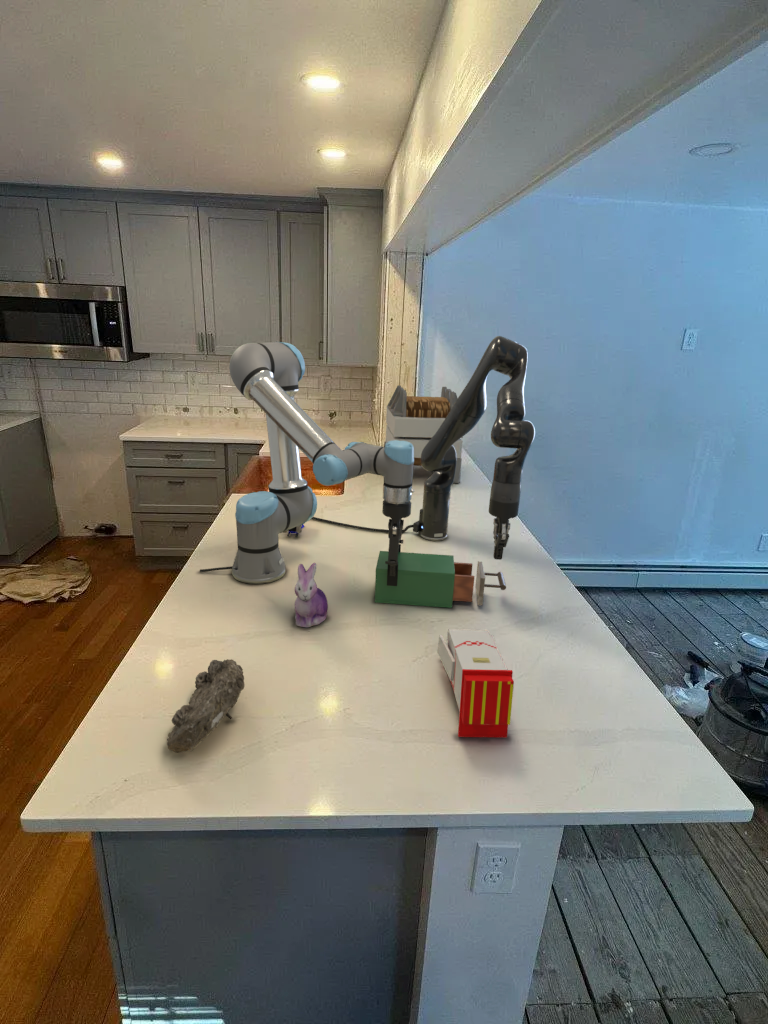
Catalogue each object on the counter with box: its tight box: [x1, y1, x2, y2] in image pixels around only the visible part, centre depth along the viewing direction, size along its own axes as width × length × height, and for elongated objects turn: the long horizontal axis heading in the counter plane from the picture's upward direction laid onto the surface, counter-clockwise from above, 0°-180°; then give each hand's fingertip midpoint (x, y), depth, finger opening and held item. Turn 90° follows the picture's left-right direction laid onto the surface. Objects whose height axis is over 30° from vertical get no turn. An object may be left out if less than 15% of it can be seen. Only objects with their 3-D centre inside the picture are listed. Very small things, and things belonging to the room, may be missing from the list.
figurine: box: [293, 562, 329, 628], centre depth 140 cm, size 9×10×15 cm
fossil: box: [166, 658, 245, 754], centre depth 106 cm, size 22×10×15 cm
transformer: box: [383, 384, 464, 484], centre depth 268 cm, size 34×33×41 cm
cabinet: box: [374, 550, 455, 609], centre depth 156 cm, size 21×12×10 cm, turn 85°
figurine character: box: [282, 524, 305, 538], centre depth 196 cm, size 7×8×15 cm
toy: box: [437, 628, 515, 738], centre depth 117 cm, size 12×13×30 cm
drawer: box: [453, 560, 507, 607], centre depth 155 cm, size 25×10×8 cm, turn 85°
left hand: (393, 575), depth 156 cm, fingers closed on cabinet, 12 cm apart
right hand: (497, 558), depth 152 cm, fingers closed
